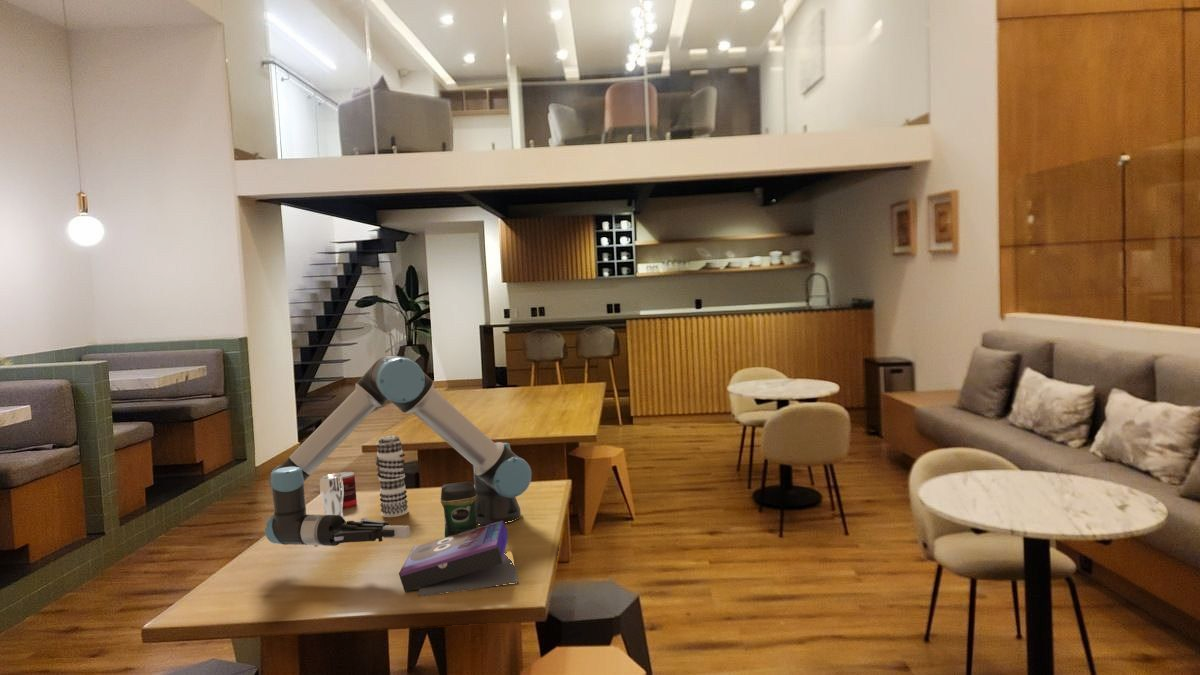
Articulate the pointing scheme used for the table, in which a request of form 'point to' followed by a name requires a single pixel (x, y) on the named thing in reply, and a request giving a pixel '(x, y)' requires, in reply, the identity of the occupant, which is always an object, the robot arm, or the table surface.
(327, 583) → the table surface
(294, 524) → the robot arm
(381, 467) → the decorative candle
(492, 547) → the cereal box
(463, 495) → the coffee jar
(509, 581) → the flat gray object
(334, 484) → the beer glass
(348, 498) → the canned food
